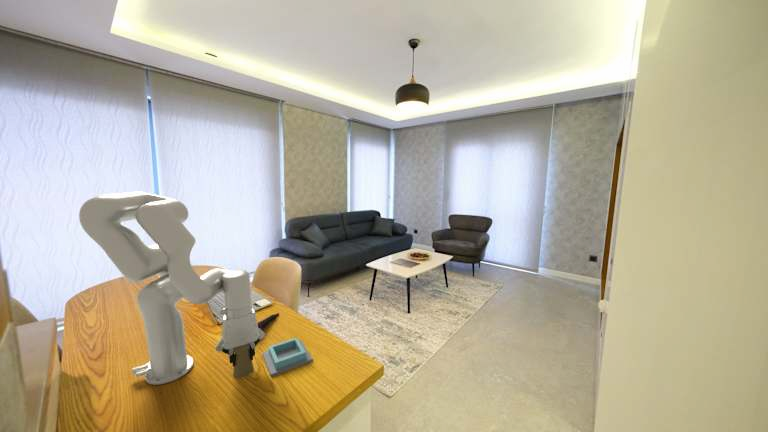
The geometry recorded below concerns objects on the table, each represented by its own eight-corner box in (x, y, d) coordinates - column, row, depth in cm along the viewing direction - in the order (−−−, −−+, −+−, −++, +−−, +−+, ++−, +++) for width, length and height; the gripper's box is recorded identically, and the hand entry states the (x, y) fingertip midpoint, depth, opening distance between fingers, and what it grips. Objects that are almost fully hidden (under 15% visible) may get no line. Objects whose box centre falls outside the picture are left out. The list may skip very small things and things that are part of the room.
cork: (228, 374, 91) (226, 344, 89) (244, 362, 96) (242, 333, 94) (242, 380, 88) (240, 348, 87) (257, 367, 94) (255, 338, 92)
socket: (270, 376, 90) (270, 367, 89) (262, 354, 101) (262, 346, 100) (312, 360, 98) (312, 352, 97) (301, 341, 108) (300, 334, 108)
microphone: (274, 321, 129) (245, 341, 109) (271, 308, 129) (241, 327, 109) (285, 318, 127) (257, 339, 108) (282, 306, 128) (253, 324, 108)
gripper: (207, 322, 81) (213, 378, 84) (269, 307, 90) (272, 358, 93) (206, 311, 87) (212, 363, 90) (264, 298, 96) (267, 346, 99)
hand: (242, 360), depth 92 cm, fingers closed on cork, 4 cm apart
